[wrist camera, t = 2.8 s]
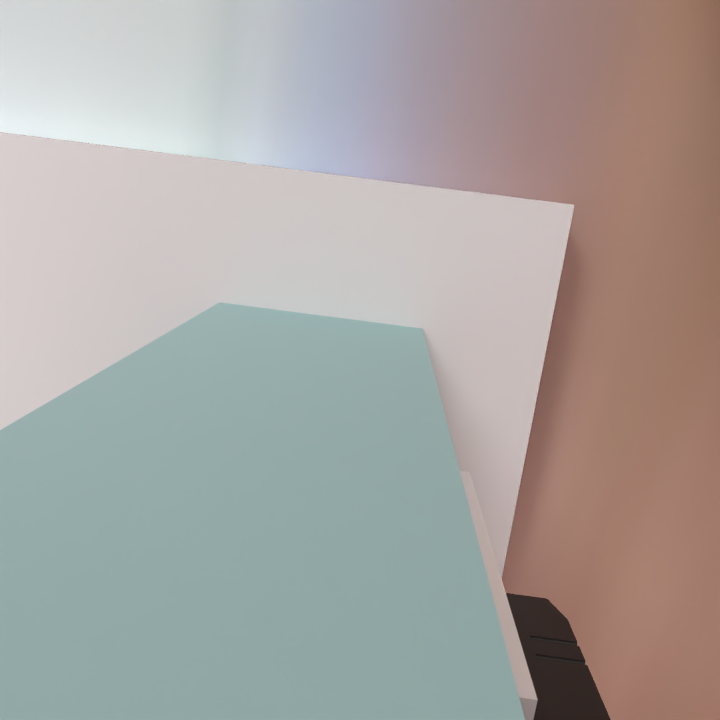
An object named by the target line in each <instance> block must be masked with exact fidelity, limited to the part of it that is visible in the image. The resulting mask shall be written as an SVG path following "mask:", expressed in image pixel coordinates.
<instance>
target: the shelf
mask: <svg viewBox="0 0 720 720" xmlns="http://www.w3.org/2000/svg"><path fill="white" fill-rule="evenodd" d="M573 210H574V205H572V204H564V203H556V202H548V201H540V200H533V199H525V198H517V197H509V196H501V195H493V194H485V193H477V192H469V191H461V190H453V189H445V188H438V187H430V186H422V185H414V184H406V183H398V182H390V181H382V180H374V179H366V178H358V177H351V176H343V175H335V174H327V173H319V172H311V171H303V170H295V169H287V168H279V167H271V166H264V165H256V164H248V163H240V162H232V161H224V160H216V159H208V158H200V157H192V156H184V155H177V154H169V153H161V152H153V151H145V150H137V149H129V148H121V147H113V146H105V145H97V144H89V143H82V142H74V141H66V140H58V139H50V138H42V137H34V136H26V135H18V134H10V133H2V132H0V430H1V429H3V428H4V427H6V426H8V425H10V424H11V423H13V422H15V421H17V420H18V419H20V418H22V417H23V416H25V415H27V414H29V413H30V412H32V411H34V410H35V409H37V408H39V407H41V406H42V405H44V404H46V403H47V402H49V401H51V400H53V399H54V398H56V397H58V396H59V395H61V394H63V393H65V392H66V391H68V390H70V389H71V388H73V387H75V386H77V385H78V384H80V383H82V382H83V381H85V380H87V379H89V378H90V377H92V376H94V375H95V374H97V373H99V372H101V371H102V370H104V369H106V368H107V367H109V366H111V365H113V364H114V363H116V362H118V361H120V360H121V359H123V358H125V357H126V356H128V355H130V354H132V353H133V352H135V351H137V350H138V349H140V348H142V347H144V346H145V345H147V344H149V343H150V342H152V341H154V340H156V339H157V338H159V337H161V336H162V335H164V334H166V333H168V332H169V331H171V330H173V329H174V328H176V327H178V326H180V325H181V324H183V323H185V322H186V321H188V320H190V319H192V318H193V317H195V316H197V315H198V314H200V313H202V312H204V311H205V310H207V309H209V308H211V307H212V306H214V305H216V304H217V303H219V302H221V303H229V304H236V305H244V306H252V307H260V308H267V309H275V310H283V311H290V312H298V313H306V314H314V315H321V316H329V317H337V318H345V319H352V320H360V321H368V322H375V323H383V324H391V325H399V326H406V327H414V328H422V329H423V333H424V337H425V341H426V344H427V348H428V352H429V356H430V360H431V363H432V367H433V371H434V375H435V379H436V382H437V386H438V390H439V394H440V398H441V401H442V405H443V409H444V413H445V417H446V420H447V424H448V428H449V432H450V436H451V439H452V443H453V447H454V451H455V455H456V458H457V462H458V466H459V470H460V471H467V472H470V475H471V478H472V482H473V485H474V488H475V492H476V495H477V498H478V502H479V505H480V508H481V512H482V515H483V518H484V522H485V525H486V528H487V532H488V535H489V539H490V542H491V545H492V549H493V552H494V555H495V559H496V562H497V565H498V569H499V572H500V575H501V579H502V574H503V569H504V564H505V559H506V553H507V548H508V543H509V538H510V533H511V528H512V523H513V518H514V512H515V507H516V502H517V497H518V492H519V487H520V482H521V477H522V471H523V466H524V461H525V456H526V451H527V446H528V441H529V436H530V430H531V425H532V420H533V415H534V410H535V405H536V400H537V395H538V389H539V384H540V379H541V374H542V369H543V364H544V359H545V354H546V348H547V343H548V338H549V333H550V328H551V323H552V318H553V313H554V307H555V302H556V297H557V292H558V287H559V282H560V277H561V272H562V266H563V261H564V256H565V251H566V246H567V241H568V236H569V231H570V225H571V220H572V215H573Z"/></svg>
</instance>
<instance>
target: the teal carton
mask: <svg viewBox="0 0 720 720" xmlns="http://www.w3.org/2000/svg"><path fill="white" fill-rule="evenodd" d="M0 720H525V717H524V713H523V710H522V706H521V702H520V698H519V694H518V691H517V687H516V683H515V679H514V675H513V672H512V668H511V664H510V660H509V656H508V653H507V649H506V645H505V641H504V637H503V634H502V630H501V626H500V622H499V618H498V615H497V611H496V607H495V603H494V599H493V595H492V592H491V588H490V584H489V580H488V576H487V573H486V569H485V565H484V561H483V557H482V554H481V550H480V546H479V542H478V538H477V535H476V531H475V527H474V523H473V519H472V516H471V512H470V508H469V504H468V500H467V497H466V493H465V489H464V485H463V481H462V478H461V474H460V470H459V466H458V462H457V458H456V455H455V451H454V447H453V443H452V439H451V436H450V432H449V428H448V424H447V420H446V417H445V413H444V409H443V405H442V401H441V398H440V394H439V390H438V386H437V382H436V379H435V375H434V371H433V367H432V363H431V360H430V356H429V352H428V348H427V344H426V341H425V337H424V333H423V329H422V328H414V327H406V326H399V325H391V324H383V323H375V322H368V321H360V320H352V319H345V318H337V317H329V316H321V315H314V314H306V313H298V312H290V311H283V310H275V309H267V308H260V307H252V306H244V305H236V304H229V303H221V302H219V303H217V304H216V305H214V306H212V307H211V308H209V309H207V310H205V311H204V312H202V313H200V314H198V315H197V316H195V317H193V318H192V319H190V320H188V321H186V322H185V323H183V324H181V325H180V326H178V327H176V328H174V329H173V330H171V331H169V332H168V333H166V334H164V335H162V336H161V337H159V338H157V339H156V340H154V341H152V342H150V343H149V344H147V345H145V346H144V347H142V348H140V349H138V350H137V351H135V352H133V353H132V354H130V355H128V356H126V357H125V358H123V359H121V360H120V361H118V362H116V363H114V364H113V365H111V366H109V367H107V368H106V369H104V370H102V371H101V372H99V373H97V374H95V375H94V376H92V377H90V378H89V379H87V380H85V381H83V382H82V383H80V384H78V385H77V386H75V387H73V388H71V389H70V390H68V391H66V392H65V393H63V394H61V395H59V396H58V397H56V398H54V399H53V400H51V401H49V402H47V403H46V404H44V405H42V406H41V407H39V408H37V409H35V410H34V411H32V412H30V413H29V414H27V415H25V416H23V417H22V418H20V419H18V420H17V421H15V422H13V423H11V424H10V425H8V426H6V427H4V428H3V429H1V430H0Z"/></svg>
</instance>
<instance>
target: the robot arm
mask: <svg viewBox="0 0 720 720" xmlns="http://www.w3.org/2000/svg"><path fill="white" fill-rule="evenodd" d="M460 474H461V478H462V481H463V485H464V489H465V493H466V497H467V500H468V504H469V508H470V512H471V516H472V519H473V523H474V527H475V531H476V535H477V538H478V542H479V546H480V550H481V554H482V557H483V561H484V565H485V569H486V573H487V576H488V580H489V584H490V588H491V592H492V595H493V599H494V603H495V607H496V611H497V615H498V618H499V622H500V626H501V630H502V634H503V637H504V641H505V645H506V649H507V653H508V656H509V660H510V664H511V668H512V672H513V675H514V679H515V683H516V687H517V691H518V694H519V698H520V702H521V706H522V710H523V713H524V717H525V720H610V718H609V715H608V713H607V711H606V708H605V706H604V704H603V701H602V699H601V697H600V694H599V692H598V690H597V687H596V685H595V683H594V680H593V678H592V676H591V673H590V671H589V669H588V666H587V665H585V659H584V657H583V654H582V652H581V650H580V647H579V646H577V640H576V638H575V636H574V633H573V631H572V629H571V626H570V624H569V622H568V619H567V618H566V617H565V616H564V615H563V614H562V613H561V612H560V611H559V610H558V609H557V608H556V607H555V606H554V605H553V604H552V603H551V602H550V601H549V600H548V599H545V598H538V597H530V596H523V595H515V594H508V593H506V592H505V589H504V585H503V582H502V579H501V575H500V572H499V569H498V565H497V562H496V559H495V555H494V552H493V549H492V545H491V542H490V539H489V535H488V532H487V528H486V525H485V522H484V518H483V515H482V512H481V508H480V505H479V502H478V498H477V495H476V492H475V488H474V485H473V482H472V478H471V475H470V472H467V471H460Z"/></svg>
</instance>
